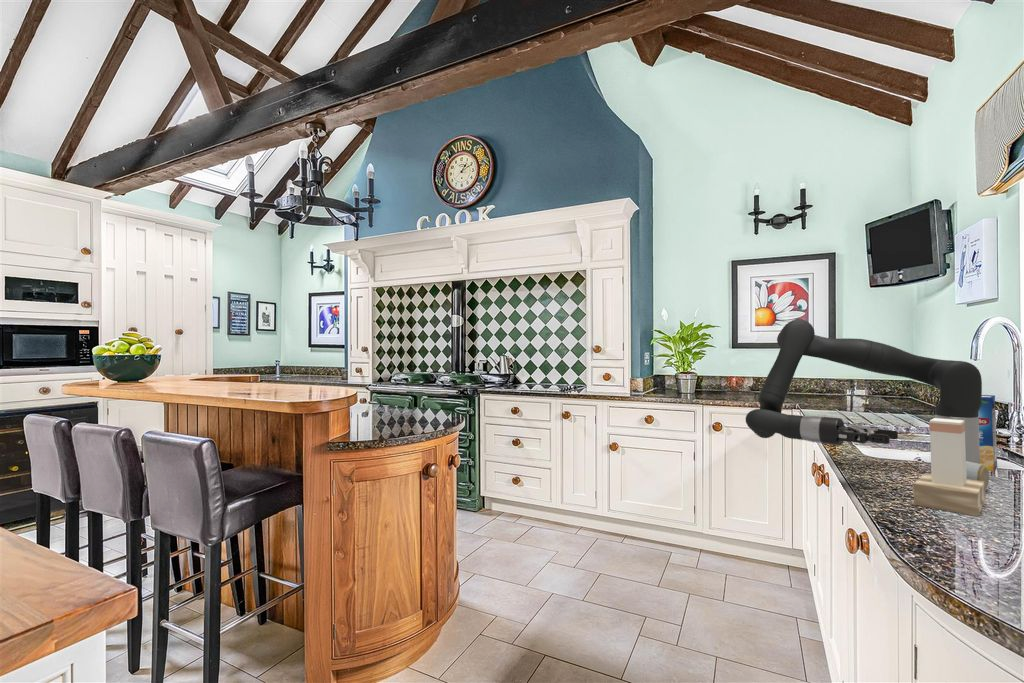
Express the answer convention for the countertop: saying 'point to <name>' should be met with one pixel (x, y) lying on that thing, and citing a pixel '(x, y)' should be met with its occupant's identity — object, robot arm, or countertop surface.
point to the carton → (948, 452)
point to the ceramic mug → (977, 472)
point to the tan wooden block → (950, 495)
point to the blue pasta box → (987, 432)
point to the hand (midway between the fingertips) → (893, 437)
